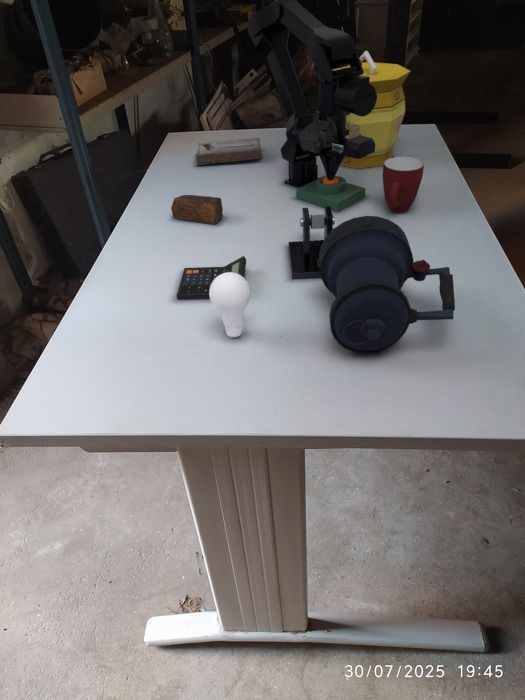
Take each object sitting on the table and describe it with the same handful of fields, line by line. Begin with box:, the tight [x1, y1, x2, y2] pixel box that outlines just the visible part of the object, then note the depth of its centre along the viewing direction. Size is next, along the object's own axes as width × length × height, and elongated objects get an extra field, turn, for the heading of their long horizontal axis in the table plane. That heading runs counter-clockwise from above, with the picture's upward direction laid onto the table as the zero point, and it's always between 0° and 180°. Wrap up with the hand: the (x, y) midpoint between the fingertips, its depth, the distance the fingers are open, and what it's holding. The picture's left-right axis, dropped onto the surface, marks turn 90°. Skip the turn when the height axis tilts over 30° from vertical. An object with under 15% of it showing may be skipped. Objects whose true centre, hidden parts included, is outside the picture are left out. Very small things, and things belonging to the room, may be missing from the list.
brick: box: [170, 194, 224, 225], centre depth 117 cm, size 11×4×5 cm, turn 69°
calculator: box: [176, 255, 247, 301], centre depth 96 cm, size 9×12×3 cm
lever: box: [309, 213, 325, 230], centre depth 100 cm, size 11×5×2 cm, turn 1°
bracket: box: [288, 206, 336, 280], centre depth 98 cm, size 12×10×10 cm
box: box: [195, 137, 263, 166], centre depth 145 cm, size 11×17×3 cm, turn 91°
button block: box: [295, 175, 366, 213], centre depth 122 cm, size 12×10×4 cm
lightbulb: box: [209, 272, 252, 338], centre depth 81 cm, size 6×6×11 cm
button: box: [323, 177, 339, 185], centre depth 121 cm, size 4×4×2 cm
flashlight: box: [317, 215, 456, 354], centre depth 80 cm, size 15×21×20 cm
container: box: [333, 50, 411, 170], centre depth 134 cm, size 21×21×25 cm
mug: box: [382, 156, 425, 214], centre depth 112 cm, size 10×8×10 cm
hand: (330, 179), depth 120 cm, fingers closed, pressing on button
